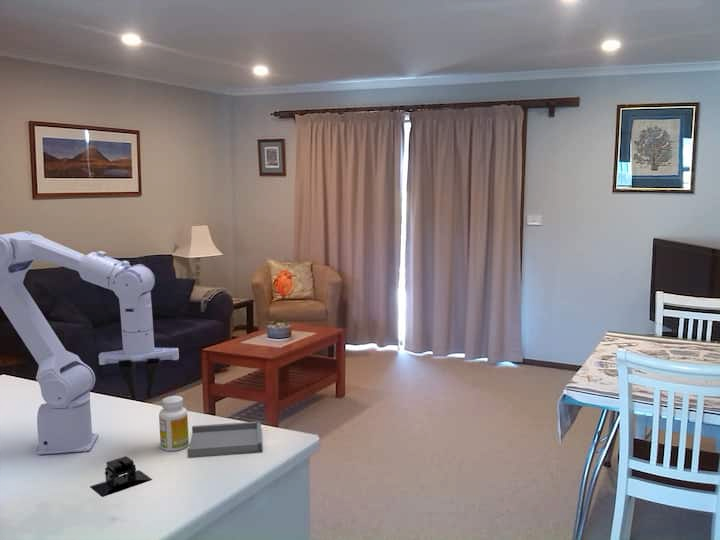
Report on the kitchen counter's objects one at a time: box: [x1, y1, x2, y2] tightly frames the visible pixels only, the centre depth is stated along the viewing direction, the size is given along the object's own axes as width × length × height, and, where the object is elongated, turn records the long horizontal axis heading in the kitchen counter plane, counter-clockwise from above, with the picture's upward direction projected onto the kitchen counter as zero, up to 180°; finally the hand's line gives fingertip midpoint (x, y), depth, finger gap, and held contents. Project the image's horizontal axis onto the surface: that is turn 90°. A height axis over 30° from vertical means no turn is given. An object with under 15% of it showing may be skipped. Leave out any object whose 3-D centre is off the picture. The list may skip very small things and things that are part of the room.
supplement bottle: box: [158, 395, 190, 452], centre depth 130 cm, size 5×5×10 cm
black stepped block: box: [89, 455, 153, 498], centre depth 115 cm, size 12×7×5 cm, turn 134°
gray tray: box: [186, 421, 263, 458], centre depth 132 cm, size 14×12×2 cm
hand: (142, 397), depth 128 cm, fingers open, 2 cm apart
